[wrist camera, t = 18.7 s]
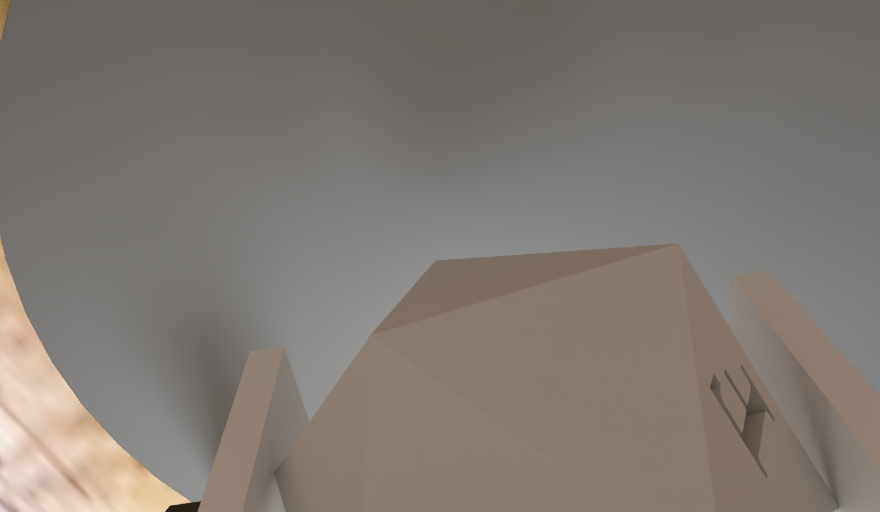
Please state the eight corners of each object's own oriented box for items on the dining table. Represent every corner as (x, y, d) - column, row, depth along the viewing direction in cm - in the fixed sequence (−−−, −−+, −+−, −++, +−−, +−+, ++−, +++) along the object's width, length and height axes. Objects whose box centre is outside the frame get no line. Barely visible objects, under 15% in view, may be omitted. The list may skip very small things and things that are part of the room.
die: (668, 475, 19) (1106, 611, 9) (399, 717, 16) (641, 1231, 7) (499, 207, 18) (790, 74, 9) (191, 414, 15) (149, 531, 6)
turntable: (413, -709, 13) (413, -1444, 5) (1118, 162, 21) (1473, 313, 14) (-119, 295, 22) (-373, 502, 15) (520, 621, 30) (552, 851, 23)
